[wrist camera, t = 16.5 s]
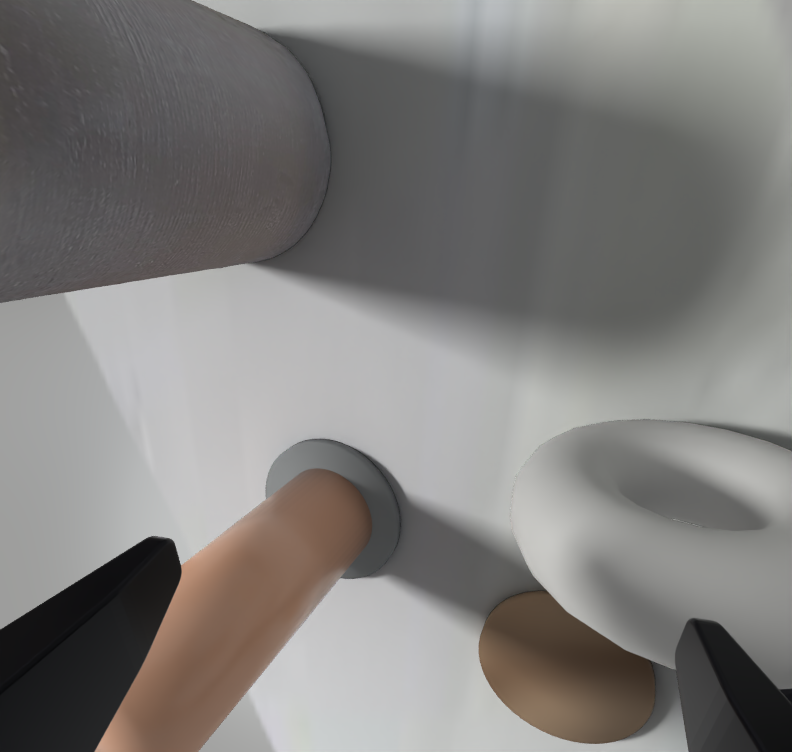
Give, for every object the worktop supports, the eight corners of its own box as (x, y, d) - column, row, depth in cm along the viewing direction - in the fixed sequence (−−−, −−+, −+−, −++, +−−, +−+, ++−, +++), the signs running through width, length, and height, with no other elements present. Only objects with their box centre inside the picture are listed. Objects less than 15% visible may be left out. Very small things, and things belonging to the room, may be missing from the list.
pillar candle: (141, 202, 27) (-329, 207, 14) (185, -15, 22) (-447, -309, 9) (291, 300, 25) (-90, 413, 12) (372, 85, 20) (-94, -109, 7)
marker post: (386, 553, 26) (186, 822, 15) (307, 560, 28) (84, 796, 17) (350, 461, 25) (112, 669, 14) (273, 476, 28) (16, 664, 16)
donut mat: (695, 707, 22) (696, 720, 22) (550, 748, 26) (548, 759, 25) (577, 565, 23) (575, 573, 22) (451, 625, 26) (447, 633, 26)
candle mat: (430, 533, 25) (426, 540, 25) (335, 592, 29) (329, 599, 29) (330, 410, 26) (324, 415, 25) (249, 484, 29) (242, 489, 29)
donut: (536, 469, 22) (466, 640, 13) (542, 391, 21) (470, 523, 12) (832, 521, 18) (1002, 811, 10) (857, 429, 17) (1073, 660, 8)
